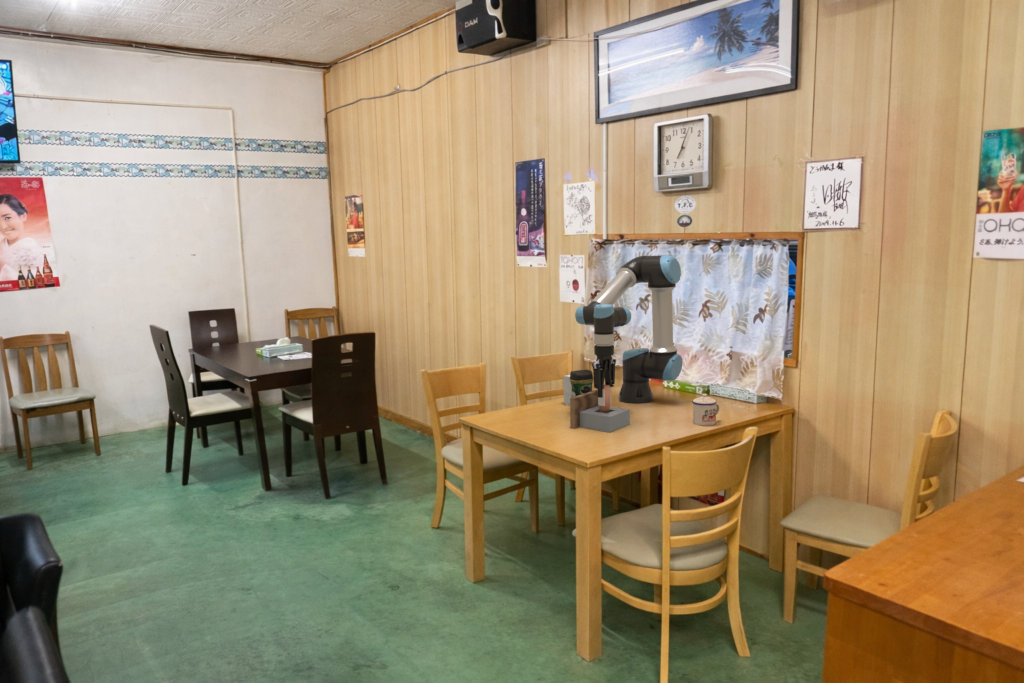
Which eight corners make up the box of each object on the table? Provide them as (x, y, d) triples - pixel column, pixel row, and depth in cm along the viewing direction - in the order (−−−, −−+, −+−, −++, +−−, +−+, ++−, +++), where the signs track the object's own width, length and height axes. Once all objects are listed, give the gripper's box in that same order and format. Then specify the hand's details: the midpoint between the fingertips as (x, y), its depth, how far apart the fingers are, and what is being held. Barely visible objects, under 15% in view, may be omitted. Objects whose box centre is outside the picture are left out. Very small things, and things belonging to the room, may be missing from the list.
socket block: (599, 419, 290) (599, 405, 289) (629, 424, 281) (629, 409, 280) (579, 427, 279) (579, 411, 279) (610, 432, 270) (610, 416, 270)
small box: (572, 406, 315) (571, 377, 313) (563, 404, 320) (562, 375, 319) (586, 403, 319) (586, 375, 318) (577, 401, 325) (577, 373, 323)
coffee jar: (588, 410, 307) (587, 367, 304) (596, 414, 300) (596, 370, 297) (567, 412, 304) (566, 369, 301) (575, 417, 296) (574, 372, 294)
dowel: (611, 410, 279) (611, 385, 278) (606, 412, 277) (605, 387, 275) (603, 409, 282) (603, 384, 281) (597, 411, 279) (597, 385, 278)
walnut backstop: (599, 417, 294) (599, 389, 292) (603, 418, 292) (603, 389, 291) (570, 428, 279) (569, 398, 277) (574, 429, 277) (574, 398, 276)
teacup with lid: (703, 427, 274) (703, 397, 273) (687, 422, 282) (687, 393, 281) (727, 423, 280) (727, 393, 278) (710, 418, 288) (710, 389, 286)
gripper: (607, 341, 284) (608, 399, 288) (583, 346, 272) (584, 407, 275) (624, 342, 280) (624, 401, 283) (600, 348, 267) (600, 409, 270)
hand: (604, 404), depth 279 cm, fingers closed on dowel, 3 cm apart
